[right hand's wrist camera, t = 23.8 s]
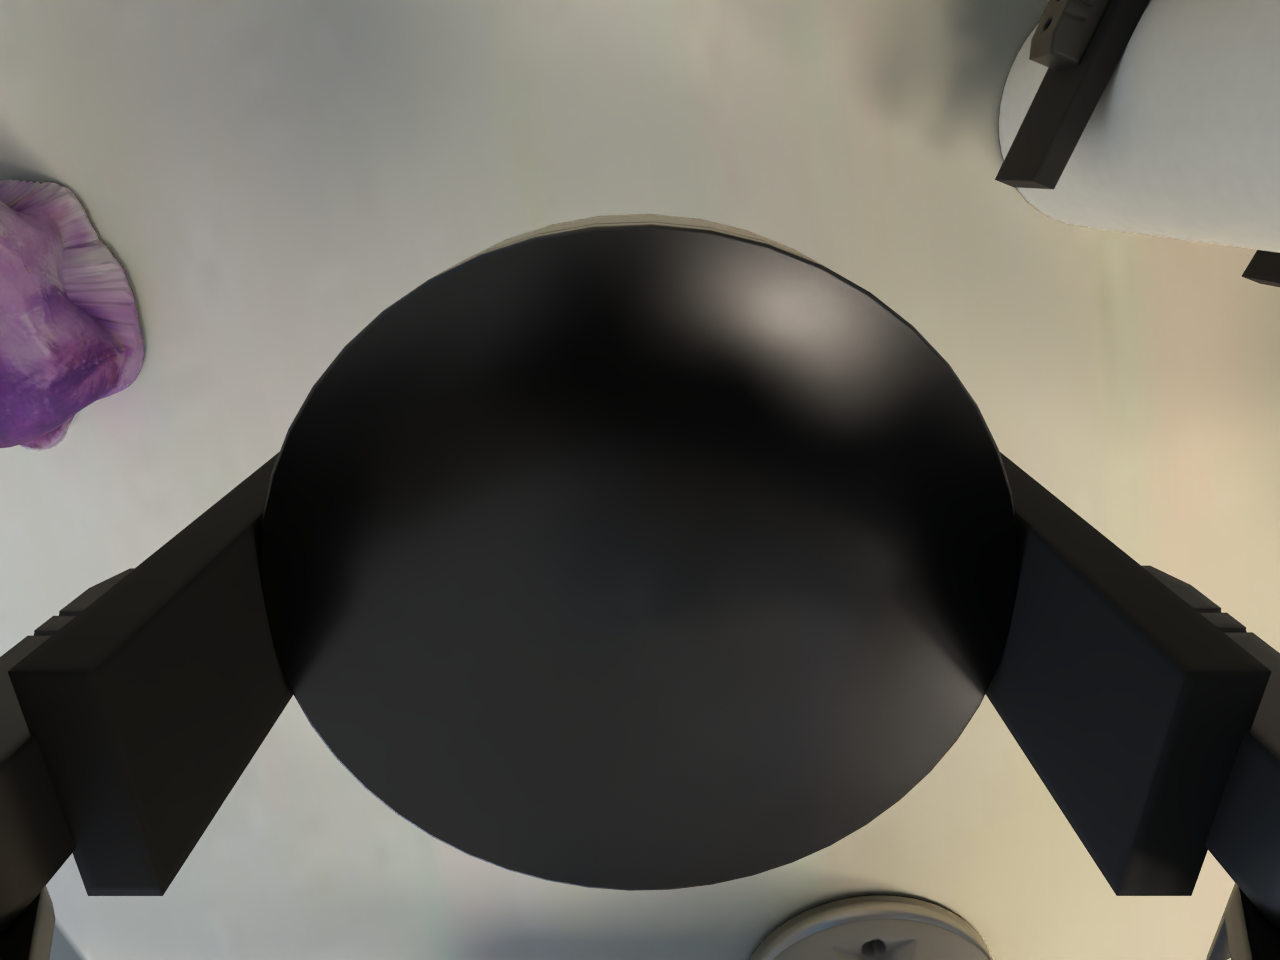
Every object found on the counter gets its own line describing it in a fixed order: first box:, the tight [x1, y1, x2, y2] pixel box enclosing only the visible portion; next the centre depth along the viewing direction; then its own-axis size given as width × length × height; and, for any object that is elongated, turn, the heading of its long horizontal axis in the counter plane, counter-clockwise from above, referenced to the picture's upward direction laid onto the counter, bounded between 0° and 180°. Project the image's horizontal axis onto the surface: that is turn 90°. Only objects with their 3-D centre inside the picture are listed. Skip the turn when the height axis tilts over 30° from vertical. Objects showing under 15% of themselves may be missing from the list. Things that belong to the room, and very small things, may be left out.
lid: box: [260, 214, 1018, 890], centre depth 11 cm, size 10×10×2 cm
